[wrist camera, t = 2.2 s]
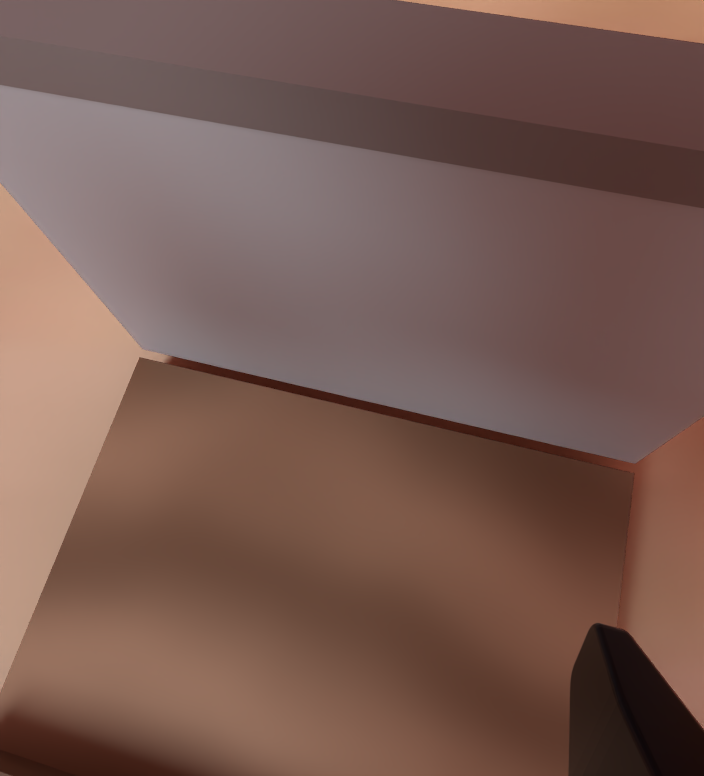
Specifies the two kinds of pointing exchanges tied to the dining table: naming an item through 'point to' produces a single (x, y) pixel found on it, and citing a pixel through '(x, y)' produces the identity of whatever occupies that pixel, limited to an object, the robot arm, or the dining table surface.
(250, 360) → the tailgate
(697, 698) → the dining table surface
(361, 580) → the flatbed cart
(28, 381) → the dining table surface
